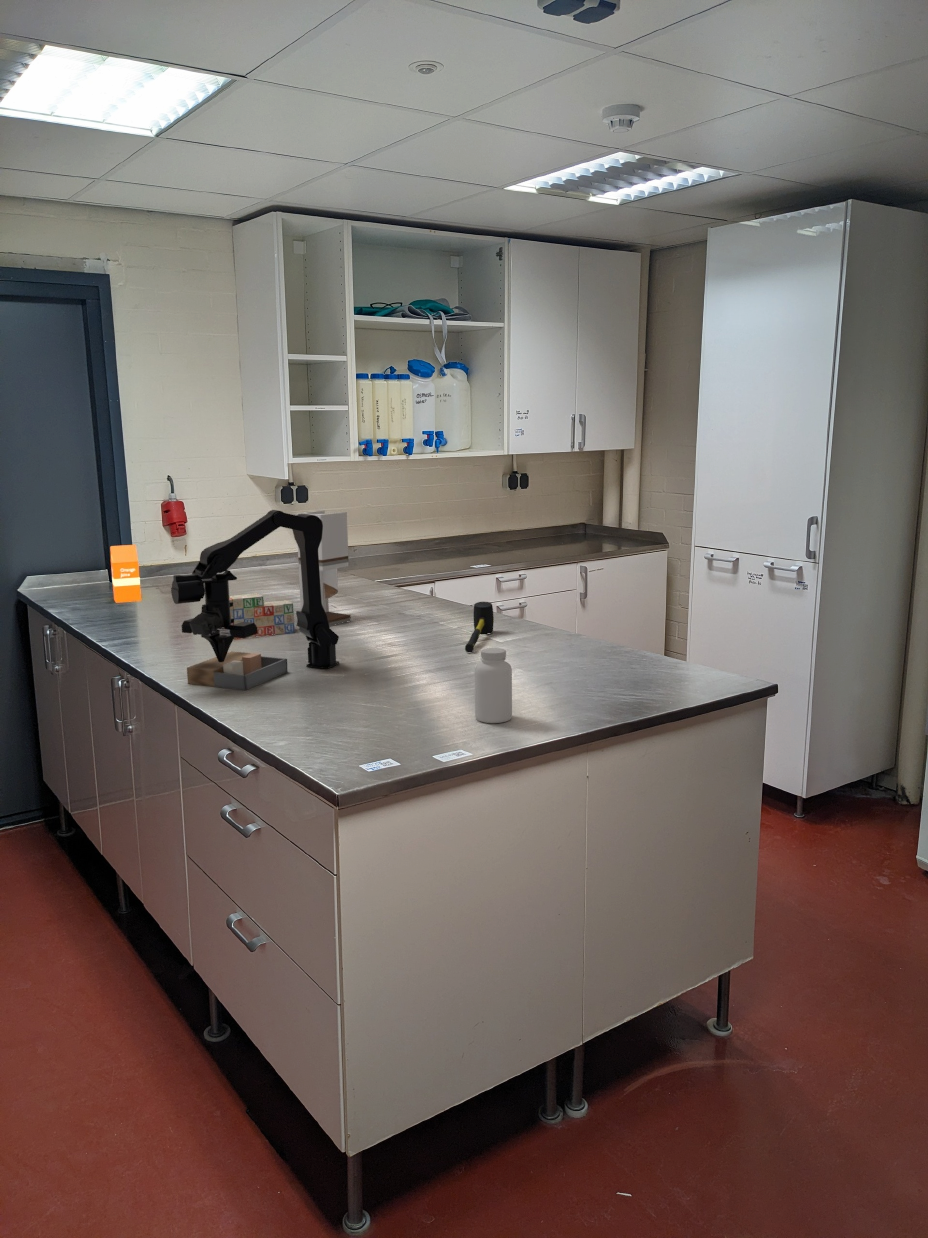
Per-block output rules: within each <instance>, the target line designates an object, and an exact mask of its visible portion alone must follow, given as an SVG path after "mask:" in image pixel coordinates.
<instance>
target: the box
mask: <svg viewBox="0 0 928 1238" xmlns="http://www.w3.org/2000/svg"><path fill="white" fill-rule="evenodd" d="M261 666H262V668H261V669H258V670H256V671H253V672H251V673H249V674H246V675H237V674H228V673H219V672H214V685H215V687H216V688H221V689H222V688H223V689H224V688H225V689H233V690H238V691H239V690H241V691H247V690H250V689H252V688H254V687H256V686H259V685H261V684H264V683H266V682H268V681H270V680H273V679H274V678H277V677H281V676H282V675H284V674H287V673H289V672H288V670H289V669H288V658H282V657H275V656H274V657H273V656H264V655H263V656H262V655H261ZM215 687H214V688H215Z"/></svg>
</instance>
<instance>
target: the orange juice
mask: <svg viewBox="0 0 928 1238" xmlns="http://www.w3.org/2000/svg"><path fill="white" fill-rule="evenodd" d="M137 551H138V550H137V546H136V544H127V545H123V544H122V545H111V546H110V566H111V567H110V568H111V580H112V589H113V600H114V602H115V603H116V604H117V603H129V602H130V603H132V602H141V601H142V591H141V577H140V569H139V568H140V567H139V559H138V558H139V557H138V552H137Z"/></svg>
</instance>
